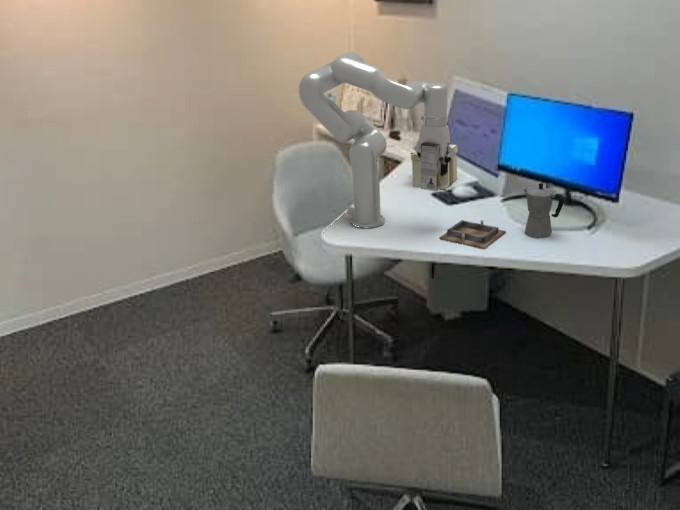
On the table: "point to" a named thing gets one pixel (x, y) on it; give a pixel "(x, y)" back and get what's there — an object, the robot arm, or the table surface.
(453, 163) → the gift box
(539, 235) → the coffeepot
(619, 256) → the table surface
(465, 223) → the tray
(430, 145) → the coffee box
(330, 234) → the table surface
